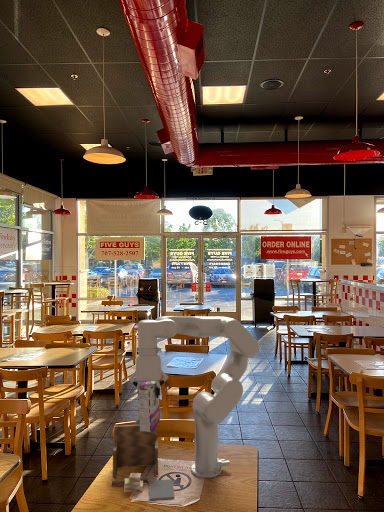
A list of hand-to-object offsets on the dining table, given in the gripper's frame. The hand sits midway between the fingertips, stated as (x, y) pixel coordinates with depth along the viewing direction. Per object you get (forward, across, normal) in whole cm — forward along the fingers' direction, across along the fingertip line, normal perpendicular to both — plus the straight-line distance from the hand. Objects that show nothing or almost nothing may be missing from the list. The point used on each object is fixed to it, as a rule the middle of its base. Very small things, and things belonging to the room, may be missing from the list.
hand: (149, 397), depth 154 cm
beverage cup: (+33, +5, -24) cm, 41 cm away
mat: (+33, -4, +6) cm, 34 cm away
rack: (+33, +6, -6) cm, 34 cm away
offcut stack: (+33, +6, +4) cm, 34 cm away
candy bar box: (+12, 0, 0) cm, 12 cm away
